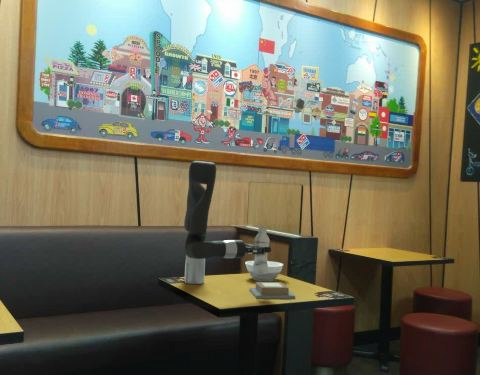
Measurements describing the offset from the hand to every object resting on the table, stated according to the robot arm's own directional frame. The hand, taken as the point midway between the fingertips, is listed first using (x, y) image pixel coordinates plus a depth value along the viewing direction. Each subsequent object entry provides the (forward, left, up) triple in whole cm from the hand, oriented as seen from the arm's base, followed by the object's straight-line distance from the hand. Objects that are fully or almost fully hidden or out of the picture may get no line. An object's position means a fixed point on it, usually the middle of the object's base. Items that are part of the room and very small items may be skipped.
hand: (266, 248), depth 220 cm
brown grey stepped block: (+4, +4, -21) cm, 21 cm away
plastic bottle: (-2, -1, -11) cm, 11 cm away
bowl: (+8, +39, -21) cm, 45 cm away
